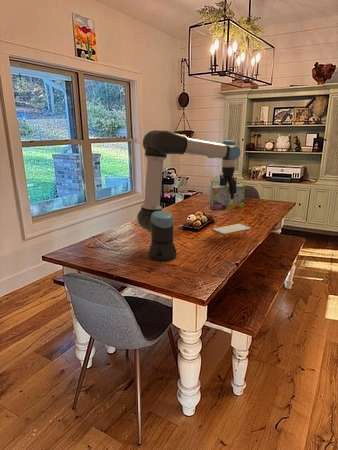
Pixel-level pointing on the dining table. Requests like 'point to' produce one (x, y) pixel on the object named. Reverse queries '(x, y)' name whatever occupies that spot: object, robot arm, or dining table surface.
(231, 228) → the rest mat
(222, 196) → the snack box
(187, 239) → the dining table surface
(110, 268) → the dining table surface
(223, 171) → the robot arm
